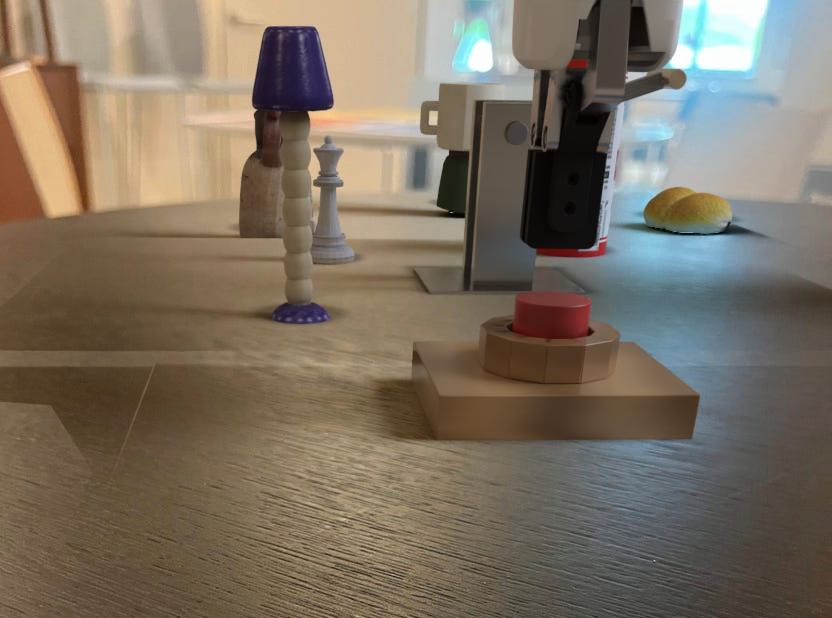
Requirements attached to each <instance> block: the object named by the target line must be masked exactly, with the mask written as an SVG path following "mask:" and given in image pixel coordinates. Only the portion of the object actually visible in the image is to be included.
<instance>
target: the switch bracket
mask: <svg viewBox="0 0 832 618" xmlns="http://www.w3.org/2000/svg"><path fill="white" fill-rule="evenodd" d="M531 113H532V100H531V99H527V100H526V99H504V100H479V99H474V100H473V108H472V123H471V138H470V153H469V168H468V183H467V198H466V212H464V227H463V228H464V230H463V244H462V245H463V246H462V256H461V257H462V260H461V267H415V268H414V272H415V273H416V275H417V277H418V278H419V280H420V281H421V283H422V284H423V286H424V287H425V289H426V290H427V292H428V293H429V295H490V296H491V295H497V296H498V295H504V296H505V295H506V296H507V295H509V296H511V295H514V296H515V295H516V296H517V295H519V294H521V293H525V292H534V291H556V292H566V293H573V294H578V295H582V296H585V295H586V291H585V290H584V289H582V288H581V287H580V286H578V285H577V284H576V283H575V282H574V281H572V280H570V279H569V278H568V277H567V276H565V275H564V274H563V273H562V272H560V271H559V270H557V269H556V268H544V267H543V268H538V267H537V268H536V261H537V260H536V259H537V253H536V251H537V249H533V248H531V247H529V246H528V245H527V244H525V243H524V242H523V241H522V240H521V238H520V228H521V217H522V207H523V197H524V187H525V176H526V166H527V156H528V149H532V148H531V147H530V128H531Z"/></svg>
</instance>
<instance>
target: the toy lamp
mask: <svg viewBox="0 0 832 618" xmlns="http://www.w3.org/2000/svg"><path fill="white" fill-rule="evenodd" d="M324 53H325V52H324V50H323V45H322V41H321V37H320V33H319V31H318V28H316V27H315V26H312V25H269V26H266V28H265V29H264V31H263V33H262V37H261V43H260V48H259V53H258V58H257V59H258V60H257V65H256V70H255V77H254V82H253V87H252V95H251V106H252V108H253V109H255V110H263V111H281V113H280V118H279V129H280V133H281V136H282V138H283V142H282V144H281V149H280V157H281V162H282V165H283V167H284V171H283V173H282V179H281V184H282V190H283V193H284V195H285V198H284V201H283V205H282V215H283V219H284V221H285V223H286V225H285V228H284V231H283V239H282V242H283V248H284V249H285V251H286V252H285V254H284V258H283V269H284V270H283V271H284V273H285V275H286V277H287V278H286V280H285V283H284V295H285V299H286V301H285V302H284V303H282V304H280V305H278V306H277V307H276V308H275V309H274V310H273V311H272V312H271V314H270V316H269V319H270V320H271V321H274V322H277V323H283V324H289V325H290V324H291V325H313V324H320V323H324V322H327V321H329V320H330V319H331V315H330V314H329V312H328V311H327V310H326V309H325V308H324V307H323V306H321V305H320V304H318V303H316V302H313V301H312V300H313V296H314V285H313V282H312V279H311V276H312V273H313V270H314V269H313V268H314V263H313V260H312V256H311V254H310V249H311V246H312V240H313V235H312V230H311V227H310V225H309V223H310V221H311V218H312V204H311V200H310V198H309V194H310V191H311V190H312V185H313V181H312V174H311V172H310V170H309V166H310V164H311V159H312V150H311V146H310V142H309V140H308V138H309V136H310V132H311V117H310V115H309V112H322V111H328V110H331V109H333V107H334V105H335V100H334V99H335V98H334V94H333V89H332V84H331V79H330V76H329V71H328V66H327V62H326V57H325V54H324Z"/></svg>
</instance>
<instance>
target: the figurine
mask: <svg viewBox="0 0 832 618" xmlns="http://www.w3.org/2000/svg"><path fill="white" fill-rule="evenodd" d="M280 113H281V111H263V110H257V109H255V111H254V113H253V119H254V137H255V145H256V147H255V150H254V152H252V153H251V154H249V156H248V157H247V159H246V161H245V162H244V164H243V167H242V172H241V176H240V179H241V180H240V187H239V188H240V191H239V211H238V228H239V229H238V230H239V237H240V239H281V240H283V231H284V228H285V225H286V223H285V221H284V219H283V215H282V205H283V201H284V198H285V195H284V193H283V190H282V184H281V179H282V173H283V171H284V167H283V165H282V162H281V157H280V149H281V144H282V142H283V138H282V136H281V133H280V129H279V118H280ZM312 191H313V190H312V189H311V191H310V194H309V198H310V200H311V204H312V218H311V221H310V223H309V225H310V227H311V230H312V233H314V232H315V230H316V226H317V223H316V219H315V212H314V211H315V210H314V207H313V206H314V204H313V202H314V201H313V192H312Z"/></svg>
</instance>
